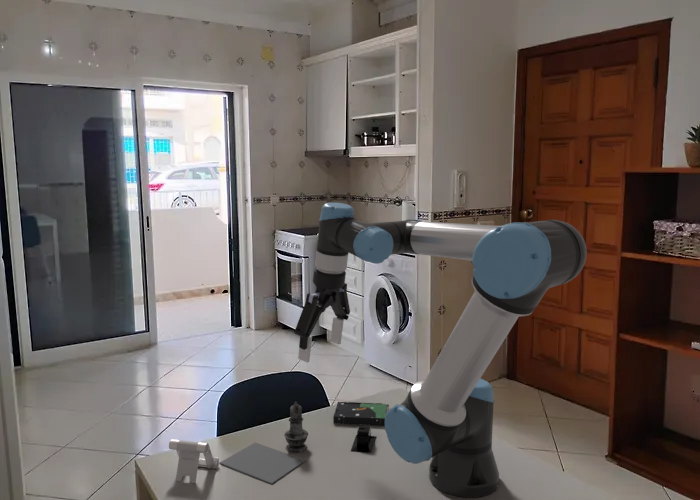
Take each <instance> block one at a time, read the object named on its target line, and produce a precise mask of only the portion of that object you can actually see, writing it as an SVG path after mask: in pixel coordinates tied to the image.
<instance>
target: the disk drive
mask: <svg viewBox="0 0 700 500" xmlns="http://www.w3.org/2000/svg"><path fill="white" fill-rule="evenodd" d="M389 409H390V404H388V403H382V402H380V403H379V402H378V403H377V402H351V401H349V402H348V401H337V403H336V408H335V411H334V413H333V417H332V419H333V425H348V426H349V425H352V426H359V425H363V426H371V427H372V426H374V427H375V426H376V427H385V417H386V414H387V412H388V410H389Z"/></svg>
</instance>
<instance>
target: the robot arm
mask: <svg viewBox="0 0 700 500" xmlns="http://www.w3.org/2000/svg"><path fill="white" fill-rule="evenodd" d="M318 223H319V224H318V234H317V241H316V242H317V243H316V252H315V262H314V266H315V267H314V268H313V275H312V276H313V277H312V283H313V284H314V286H315V288H316V289H315V292H314V293H311V292H307V294H306V297H305V303H304V305H303V308H302V310H301V313H300V316H299V318H298V321H297V323H296V326H295V329H294V334H295V335H296V336H299V342H298V343H299V344H298V347H299V348H298V357H297V359H298V360H300V361H302V362H305V363H307V364H308V363H309V362H310V357H311V351H312V350H311V349H312V340H313V336H312V333H313V331H314V328H315V326H317V325H316V324H317V323H318V321H319V319H320V317H321V315H322V313H324V312H325V311H326V310H327V309H328V307H330V308H331V309H332V311H333V314H334V315H335V316H334V317H332V323H331V333H330V340H329V341H330V342H332V343H334V344H337V345H340V344H342V336H343V330H344V329H343V328H344V321H348V319H349V315H350V313H351V308H350V303H349V296H348V283H346V275H347V271H346V270H347V268H348V262H349V261H348V259H349V254H351V255H353V256H355V257H357V258H359V259H361V261H364V262H367V263H368V262H369V263H371V264H382V263H383V262H385V261H386V260H387V259H388V258H389V257H390V256H392V255H398V254H399V255H400V254H409V255H410V254H411V255H420V256H421V255H423V256H431V257H440V258H447V259H453V260H454V259H456V260H465V261H472V262H471V263H472V264H471V265H473V268H474V269H473V270H472V273H473V276H472V278H471V286H472V288H473V290H474V292H473V294H472V296H471V297H470V299H469V301H468V302H467V305H466V306H465V308H464V310H463V311H462V313H461V315H460V316H459V319H458V321H457V322H456V324H455V326H454V328H453V329H452V332H450V334H449V337H448V338H447V340H446V342H445V343H444V346H443V347H442V349H441V350H440V353H439V355H438V356H437V358H436V360H435V362H434V363H433V365H432V366H431V368H430V369H429V372H428V374H427V376H426V377H425V378H423V379H419V380H418V381H416V382H414V384H413V385H412V387H411V389H410V390H409V392H408V394H407V396H406V397H405V399H404V401H402V402H401V403H400V404H398V403H397V404H394V405H393V406H392V407H391V408H389V410H388V412H387V414H386V417H385V426H384V430H385V433H386V437H387V440H388V442H389V444H390V446H391V449H393V451H394V452H395V453H396V454H397V456H398V457H399V458H400V459H402V460H404V461H405V462H407V463H411V464H412V465H415V464H416V465H417V464H422V463H423V462H428V461H430V464H429V466H428V469H429V470H428V471H429V472H428V478H429V481H430V482H431V484H432V485H433V486H434V487H435V488H436V489H438V490H439V491H442V492H443V493H445V494H448V495H452V496H455V497H460V498H469V499H470V498H480V497H481V498H482V497H485V496H488V495H490V494H493V493H494V492H496V490H497V489H498V487H499V484H500V473H499V472H500V471H499V468H498V466H497V465H498V464H497V462H496V460H495V455H494V452H493V447H492V446H493V444H492V443H493V428H494V427H493V422H494V403H495V400H494V387H493V386H492V385H491V383H489V381H487V380H485V379H483V378H482V376H483V375H484V374H485V371H486V370H487V368H488V367H489V365H490V364H491V362H492V360H493V358H494V357H495V355H496V353H497V352H498V351H499V350H500V347H501V346H502V345H503V343H504V341H505V339H506V338H507V336H508V335H509V333H510V332H511V330H512V328H513V326H514V325H515V324H516V322H517V321H518V319H519V317H526V316H530V315H531V314H533V312H534V311H535V309H536V308H537V306H538V305H539V304H540V302H541V300H543V299H542V298H543V297H544V295H545V294H546V292H547V291H548V290H549V289H550V288H554V287H557V286H562V285H564V284H567V283H569V282H571V281H572V280H574V279H575V278H576V277H577V276H578V275H579V274H580V273H581V272H582V270H583V269H584V266H585V264H586V261H587V256H588V255H587V254H588V253H587V252H588V251H587V250H588V249H587V245H586V242H585V239H584V237H583V235H582V234H581V232H580V231H579V230H578V229H576V227H574V226H573V225H572V224H570V223H568V222H565V221H562V220H557V219H546V220H538V221H524V222H517V221H516V222H515V221H514V222H511V223H505V224H504V225H503V224H502V225H493V224H492V225H490V224H473V223H457V222H456V223H454V222H453V223H452V222H439V221H438V222H437V221H423V220H421V219H413V218H411V219H409V218H408V219H405V220H396V221H383V222H371V223H368V222H364V221H361V220H358V219H356V218H355V208H354V207H353V206H351V205H349V204H347V203H342V202H326V203H324V204H323V205H322V206H321V211H320V216H319V219H318Z"/></svg>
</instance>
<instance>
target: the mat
mask: <svg viewBox="0 0 700 500" xmlns="http://www.w3.org/2000/svg"><path fill="white" fill-rule="evenodd" d="M305 462H307V460H306V459H304V458H301V457H298V456H295V455H293V454H290V453H286V452H283V451H281V450H278V449H276V448H272V447H270V446H266V445H264V444H261V443H257V442H253V443H251V444H250V445H248V446H246V447H245V448H242V449H241V450H240V451H238V452H236V453H234V454H232V455H231V456H230V455H229V457H227V458H225V459H224V460H222V461H219V465H222V466H225V467H227V468H230V469H232V470H234V471H237V472H239V473H242V474H244V475H246V476H250V477H252V478H255V479H257V480H260V481H262V482H265V483H268V484H269V485H273V484H275V483H276V482H278V481H279V480H281V479H282V478H284V477H285V476H286V475H288V474H289V473H291V472H292V471H294V470H295V469H296V468H298V467H299V466H301V465H303V464H304V463H305Z"/></svg>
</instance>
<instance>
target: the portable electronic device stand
mask: <svg viewBox="0 0 700 500" xmlns="http://www.w3.org/2000/svg"><path fill="white" fill-rule="evenodd" d="M168 448H169V450H172V451H176V453H177V457H178V462H177V468H176V475H175V481H177V482H182V480H183V477H184V476H186V477H189V483H190V484H194V483H196V482H197V475H198V468H199V467H200V468H207V469H211V470H213V469H215V470H216V469H218V468H219V465H220V460H219V457H214V456H213V453H212V450H211V447H210V445H209V443H207V442H201V441H200V442H198V441H191V440H190V441H189V440H181V439H174V438H173V439H170V440H169V442H168ZM201 454H203V457H204V458H200V455H201Z"/></svg>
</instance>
